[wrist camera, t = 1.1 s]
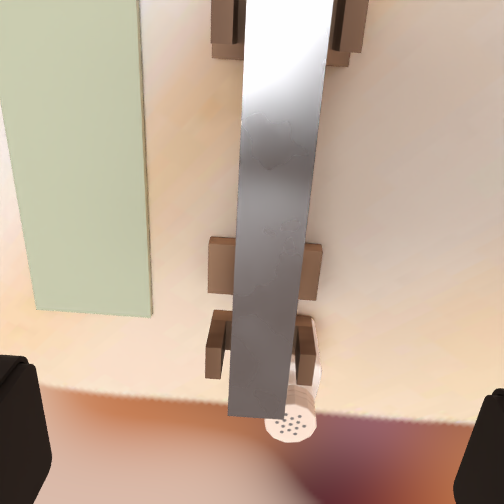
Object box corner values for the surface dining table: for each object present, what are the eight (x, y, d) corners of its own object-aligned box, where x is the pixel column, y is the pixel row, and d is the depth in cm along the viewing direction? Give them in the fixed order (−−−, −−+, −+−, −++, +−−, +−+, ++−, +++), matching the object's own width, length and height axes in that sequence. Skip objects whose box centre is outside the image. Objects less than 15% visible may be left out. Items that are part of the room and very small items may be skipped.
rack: (355, -10, 26) (410, -41, 16) (314, 292, 35) (332, 402, 24) (215, -19, 26) (177, -55, 16) (209, 284, 35) (182, 391, 24)
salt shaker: (258, 348, 37) (253, 443, 29) (265, 307, 35) (263, 394, 27) (306, 356, 37) (316, 451, 29) (316, 315, 35) (330, 404, 27)
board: (135, -88, 25) (132, -91, 24) (152, 313, 36) (150, 317, 36) (-28, -98, 25) (-35, -100, 24) (40, 305, 36) (36, 309, 36)
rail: (254, -70, 17) (251, -90, 15) (332, -66, 17) (343, -84, 15) (232, 377, 27) (227, 415, 24) (282, 381, 27) (283, 419, 24)
